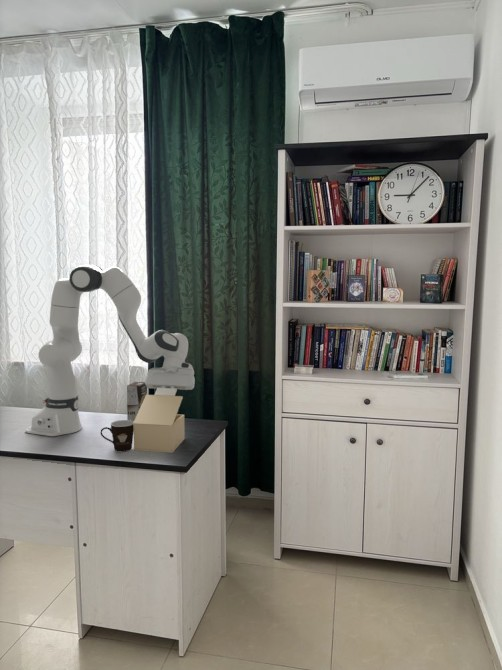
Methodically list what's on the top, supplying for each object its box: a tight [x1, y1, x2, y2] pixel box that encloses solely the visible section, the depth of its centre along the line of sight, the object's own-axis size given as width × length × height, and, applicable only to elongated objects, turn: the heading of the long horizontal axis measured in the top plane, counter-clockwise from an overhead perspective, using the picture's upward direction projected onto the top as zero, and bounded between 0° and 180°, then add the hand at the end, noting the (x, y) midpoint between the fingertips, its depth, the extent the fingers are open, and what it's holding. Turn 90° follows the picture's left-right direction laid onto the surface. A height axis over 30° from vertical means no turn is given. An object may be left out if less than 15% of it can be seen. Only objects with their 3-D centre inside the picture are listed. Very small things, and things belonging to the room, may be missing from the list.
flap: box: [133, 388, 184, 426], centre depth 196 cm, size 15×20×1 cm
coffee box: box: [126, 381, 148, 422], centre depth 232 cm, size 9×6×16 cm
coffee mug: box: [100, 419, 134, 453], centre depth 192 cm, size 12×9×10 cm
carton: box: [133, 413, 186, 453], centre depth 196 cm, size 15×16×10 cm
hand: (166, 397), depth 203 cm, fingers closed, pressing on flap
